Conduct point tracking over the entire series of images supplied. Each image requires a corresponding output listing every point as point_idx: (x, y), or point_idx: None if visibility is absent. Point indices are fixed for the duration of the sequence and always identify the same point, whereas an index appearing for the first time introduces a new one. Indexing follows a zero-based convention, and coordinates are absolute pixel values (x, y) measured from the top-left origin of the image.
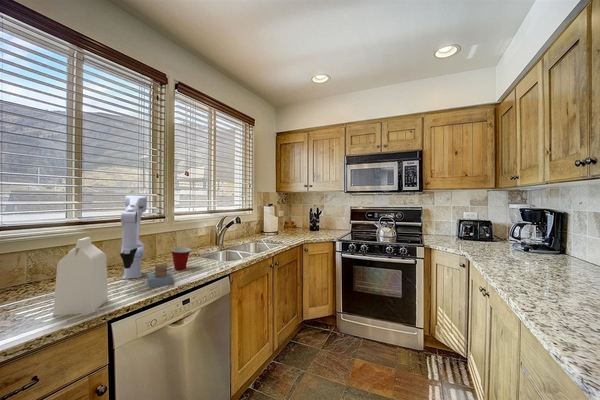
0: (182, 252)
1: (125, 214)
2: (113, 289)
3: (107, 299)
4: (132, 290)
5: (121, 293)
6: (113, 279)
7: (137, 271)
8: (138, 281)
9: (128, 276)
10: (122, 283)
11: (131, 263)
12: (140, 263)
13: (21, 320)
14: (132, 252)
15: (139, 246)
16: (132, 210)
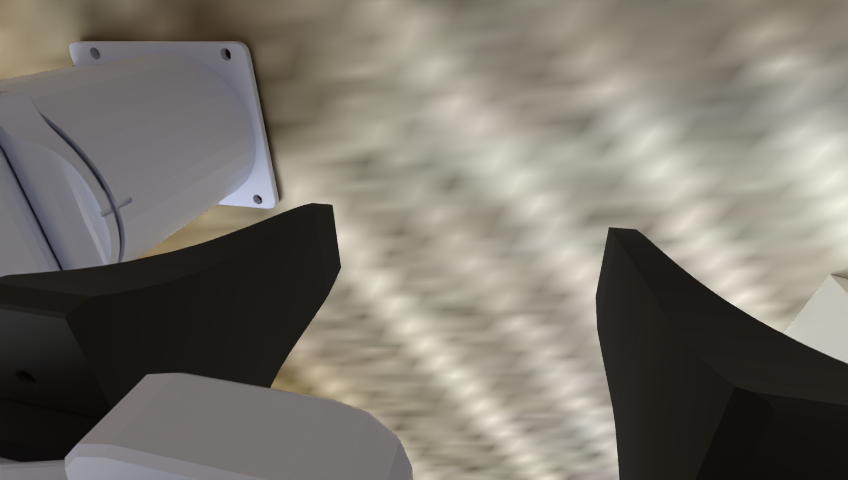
0: None
1: None
2: (545, 248)
3: (838, 277)
4: (695, 85)
5: (729, 182)
6: None
7: (189, 92)
8: (375, 51)
9: (248, 164)
10: (392, 193)
11: (634, 254)
12: (63, 81)
13: None
14: (190, 345)
15: (151, 404)
16: None
